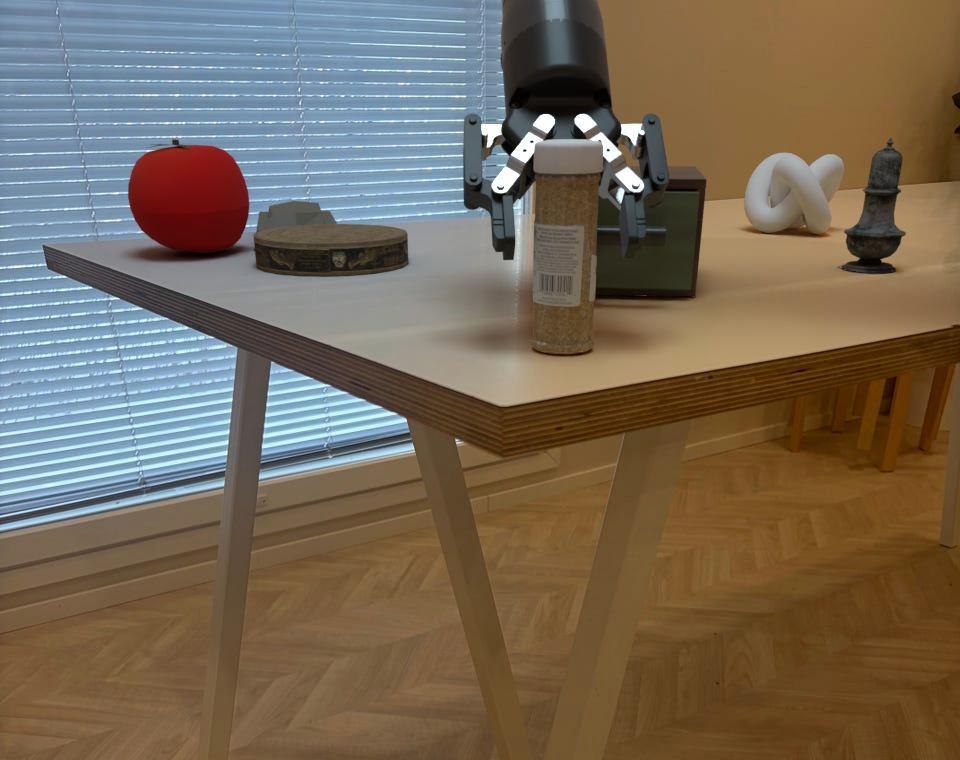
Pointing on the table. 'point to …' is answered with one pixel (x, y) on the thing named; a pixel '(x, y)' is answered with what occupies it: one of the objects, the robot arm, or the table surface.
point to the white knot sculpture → (793, 193)
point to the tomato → (189, 197)
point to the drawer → (650, 245)
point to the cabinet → (696, 182)
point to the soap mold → (293, 215)
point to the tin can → (331, 249)
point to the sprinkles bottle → (565, 244)
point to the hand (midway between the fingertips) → (570, 252)
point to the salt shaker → (877, 216)
